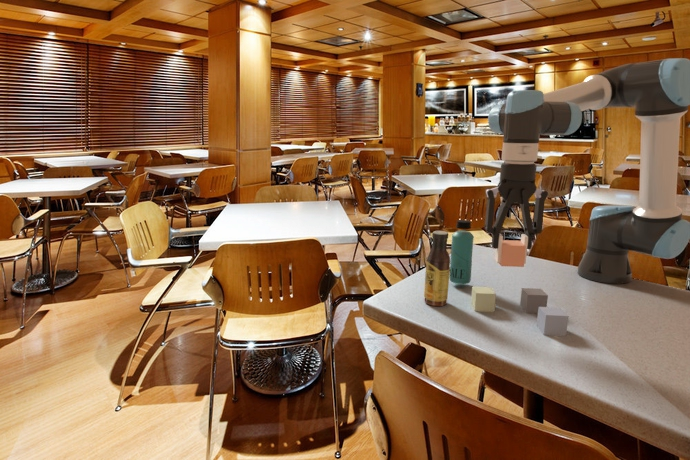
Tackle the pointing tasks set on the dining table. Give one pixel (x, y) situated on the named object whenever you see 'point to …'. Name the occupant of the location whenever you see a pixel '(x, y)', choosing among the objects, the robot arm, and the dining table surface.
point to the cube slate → (552, 321)
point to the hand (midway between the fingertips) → (509, 261)
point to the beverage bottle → (461, 254)
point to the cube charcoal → (533, 299)
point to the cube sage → (483, 299)
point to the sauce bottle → (437, 271)
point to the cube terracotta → (513, 253)
